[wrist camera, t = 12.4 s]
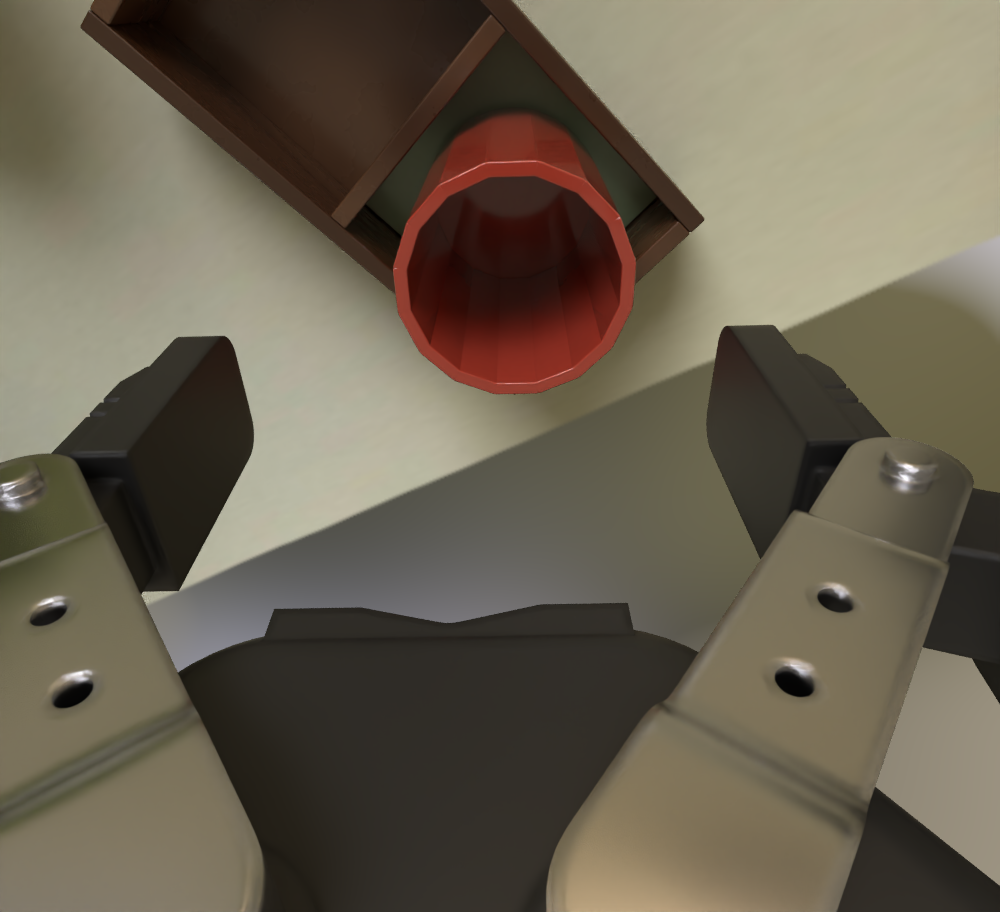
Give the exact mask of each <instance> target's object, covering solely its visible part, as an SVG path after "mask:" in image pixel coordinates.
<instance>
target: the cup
mask: <svg viewBox="0 0 1000 912" xmlns="http://www.w3.org/2000/svg"><path fill="white" fill-rule="evenodd" d="M635 273H636V259H635V256H634V253H633V250H632V248H631V245H630V242H629V239H628V236H627V233H626V230H625V227H624V225H623V222H622V219H621V217H620V214H619V212H618V210H617V208H616V206H615V204H614V202H613V200H612V198H611V196H610V194H609V192H608V190H607V188H606V186H605V184H604V182H603V180H602V177H601V175H600V173H599V171H598V169H597V167H596V165H595V163H594V161H593V159H592V157H591V155H590V153H589V151H588V149H587V148H586V147H585V146H584V145H583V144H582V142H581V141H580V140H579V138H578V137H577V136H576V135H575V133H573V132H572V131H571V130H570V129H569V128H568V127H567V126H566V125H565V124H563V123H562V122H560V121H559V120H558V119H556V118H554V117H552V116H550V115H548V114H546V113H544V112H541V111H538V110H535V109H530V108H524V107H505V108H498V109H494V110H490V111H487V112H484V113H482V114H479V115H477V116H475V117H474V118H472V119H470V120H469V121H467V122H466V123H464V124H463V125H462V126H461V127H459V128H458V129H457V130H456V131H455V132H454V133H453V134H452V135H451V136H450V137H449V139H448V140H447V142H446V143H445V144H444V146H443V147H442V148H441V150H440V151H439V152H438V153H437V155H436V157H435V160H434V162H433V164H432V166H431V169H430V171H429V173H428V175H427V178H426V180H425V182H424V184H423V187H422V189H421V191H420V193H419V196H418V198H417V200H416V202H415V205H414V207H413V209H412V211H411V214H410V216H409V218H408V220H407V223H406V225H405V229H404V232H403V235H402V239H401V242H400V245H399V249H398V252H397V255H396V258H395V262H394V265H393V275H394V283H395V292H396V301H397V309H398V313H399V316H400V318H401V320H402V322H403V323H404V325H405V327H406V329H407V331H408V332H409V334H410V336H411V338H412V339H413V341H414V343H415V345H416V347H417V348H418V350H419V352H420V353H421V354H422V355H423V356H425V357H426V358H427V359H428V360H430V361H431V362H432V363H433V364H434V365H436V366H437V367H438V368H439V369H441V370H442V371H443V372H444V373H445V374H447V375H448V376H449V377H450V378H452V379H453V380H455V381H457V382H460V383H463V384H466V385H469V386H472V387H475V388H478V389H481V390H484V391H487V392H490V393H493V394H531V393H540V392H543V391H546V390H548V389H551V388H553V387H556V386H559V385H561V384H564V383H566V382H569V381H571V380H574V379H577V378H578V377H580V376H581V375H583V374H584V373H585V372H586V371H587V370H588V369H589V368H590V367H592V366H593V365H594V364H595V363H596V362H597V361H598V360H599V359H601V358H602V357H603V356H604V355H605V354H606V353H607V352H608V351H610V350H611V348H612V347H613V346H614V344H615V342H616V340H617V338H618V336H619V334H620V332H621V330H622V328H623V326H624V324H625V322H626V320H627V318H628V316H629V314H630V312H631V310H632V307H633V299H634V286H635Z"/></svg>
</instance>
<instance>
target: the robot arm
mask: <svg viewBox="0 0 1000 912" xmlns="http://www.w3.org/2000/svg"><path fill="white" fill-rule="evenodd" d="M706 425H707V437H708V443H709V447H710V449H711V452H712V454H713V456H714V458H715V460H716V463H717V465H718V467H719V469H720V471H721V473H722V476H723V478H724V480H725V482H726V485H727V487H728V489H729V491H730V493H731V496H732V498H733V500H734V502H735V504H736V507H737V509H738V511H739V513H740V515H741V517H742V520H743V522H744V524H745V526H746V529H747V531H748V533H749V535H750V537H751V540H752V542H753V544H754V546H755V548H756V551H757V553H758V555H759V557H760V559H761V560H760V561H759V563H758V564H757V566H756V567H755V569H754V570H753V572H752V573H751V575H750V576H749V578H748V579H747V581H746V582H745V584H744V585H743V587H742V588H741V590H740V591H739V593H738V594H737V596H736V597H735V599H734V600H733V602H732V604H731V605H730V607H729V608H728V609H727V611H726V613H725V614H724V615H723V617H722V619H721V620H720V621H719V623H718V624H717V626H716V628H715V629H714V631H713V632H712V633H711V635H710V637H709V638H708V640H707V641H706V643H705V644H704V646H703V647H702V649H701V650H700V652H697V651H695V650H693V649H691V648H689V647H687V646H685V645H682V644H680V643H677V642H675V641H672V640H669V639H667V638H664V637H660V636H657V635H653V634H649V633H646V632H641V631H636V630H633V626H632V622H631V616H630V612H629V607H628V603H603V604H548V605H547V604H543V605H536V606H532V607H527V608H522V609H517V610H513V611H508V612H503V613H499V614H494V615H489V616H485V617H480V618H476V619H471V620H466V621H461V622H456V623H441V622H435V621H430V620H424V619H418V618H413V617H408V616H403V615H397V614H392V613H387V612H381V611H376V610H371V609H366V608H309V609H274V612H273V614H272V617H271V620H270V622H269V625H268V628H267V631H266V634H265V636H264V637H260V638H256V639H252V640H249V641H245V642H242V643H239V644H236V645H233V646H230V647H228V648H225V649H223V650H220V651H218V652H215V653H213V654H211V655H209V656H207V657H205V658H203V659H201V660H199V661H197V662H195V663H193V664H191V665H189V666H188V667H186V668H185V669H183V670H181V671H180V672H177V670H176V668H175V666H174V664H173V662H172V659H171V657H170V655H169V653H168V651H167V649H166V647H165V645H164V643H163V640H162V638H161V637H160V634H159V632H158V630H157V628H156V626H155V624H154V621H153V619H152V617H151V615H150V613H149V611H148V609H147V606H146V604H145V602H144V600H143V598H142V596H141V594H142V593H143V592H145V591H179V589H180V588H181V586H182V584H183V582H184V580H185V578H186V576H187V574H188V573H189V571H190V569H191V567H192V565H193V563H194V561H195V559H196V558H197V556H198V554H199V552H200V550H201V548H202V546H203V544H204V542H205V541H206V539H207V537H208V535H209V533H210V531H211V529H212V527H213V526H214V524H215V522H216V520H217V518H218V516H219V514H220V512H221V510H222V509H223V507H224V505H225V503H226V501H227V499H228V497H229V495H230V494H231V492H232V490H233V488H234V486H235V484H236V482H237V480H238V479H239V477H240V475H241V473H242V471H243V469H244V467H245V465H246V463H247V462H248V460H249V458H250V456H251V453H252V449H253V442H254V429H253V421H252V417H251V413H250V409H249V405H248V401H247V397H246V393H245V389H244V385H243V381H242V377H241V373H240V369H239V365H238V361H237V357H236V353H235V350H234V347H233V345H232V343H231V341H230V340H229V339H228V338H227V337H225V336H202V337H178V338H176V339H175V340H174V341H173V342H172V343H171V344H170V345H169V346H168V347H167V348H166V349H165V350H164V351H163V353H162V354H161V355H160V356H159V357H158V358H157V359H156V360H155V361H154V362H153V363H152V364H151V366H150V367H146V368H144V369H142V370H141V371H139V372H137V373H135V374H133V375H132V376H130V377H128V378H126V379H125V380H123V381H121V382H120V383H119V384H118V385H117V386H116V387H115V388H114V389H113V390H112V391H111V392H110V393H109V394H108V395H107V396H106V397H105V398H104V403H99V404H98V405H97V406H96V408H95V409H94V410H93V411H92V412H91V413H90V417H86V418H85V419H84V420H83V421H82V422H81V423H80V424H79V425H78V426H77V427H76V428H75V429H74V430H73V431H72V432H71V434H70V435H69V436H68V437H67V438H66V439H65V440H64V441H63V442H62V443H61V444H60V445H59V446H58V447H57V448H56V449H55V450H54V451H53V452H52V453H51V454H36V455H29V456H24V457H19V458H15V459H12V460H8V461H5V462H3V463H0V912H1000V886H999V885H998V884H997V883H995V882H994V881H993V880H991V879H990V878H989V877H988V876H987V875H985V874H984V873H983V872H982V871H980V870H979V869H978V868H977V867H975V866H974V865H973V864H972V863H970V862H969V861H968V860H966V859H965V858H964V857H963V856H961V855H960V854H959V853H958V852H957V851H955V850H954V849H953V848H951V847H950V846H949V845H948V844H946V843H945V842H944V841H943V840H941V839H940V838H939V837H938V836H936V835H935V834H934V833H933V832H931V831H930V830H929V829H927V828H926V827H925V826H924V825H923V824H921V823H920V822H918V820H916V819H915V818H914V817H913V816H911V815H910V814H909V813H908V812H906V811H905V810H904V809H902V808H901V807H900V806H899V805H897V804H896V803H895V802H894V801H892V800H891V799H890V798H889V797H887V796H886V795H885V794H883V793H882V792H881V791H880V790H879V789H877V788H876V787H875V785H876V782H877V779H878V777H879V774H880V770H881V767H882V765H883V762H884V759H885V756H886V753H887V750H888V747H889V744H890V741H891V738H892V735H893V732H894V729H895V726H896V723H897V721H898V718H899V715H900V712H901V709H902V706H903V703H904V700H905V697H906V694H907V691H908V688H909V685H910V682H911V679H912V676H913V673H914V670H915V668H916V665H917V661H918V659H919V656H920V653H921V650H922V647H924V648H928V649H933V650H937V651H942V652H946V653H951V654H955V655H959V656H964V657H969V658H972V659H973V661H974V663H975V665H976V666H977V668H978V670H979V671H980V673H981V674H982V676H983V678H984V679H985V681H986V683H987V684H988V686H989V687H990V689H991V691H992V692H993V694H994V695H995V697H996V699H997V700H998V702H999V703H1000V493H997V492H991V491H985V490H980V489H975V488H973V484H974V481H973V476H972V474H971V473H970V471H969V470H968V469H967V467H966V466H965V465H964V464H962V463H961V462H960V461H959V460H958V459H956V458H954V457H953V456H951V455H950V454H948V453H946V452H944V451H942V450H940V449H938V448H935V447H932V446H930V445H927V444H924V443H920V442H917V441H913V440H908V439H902V438H892V437H891V436H890V435H889V433H888V432H887V431H886V430H885V429H884V428H883V427H882V425H881V424H880V423H879V422H878V421H877V420H876V419H875V418H874V416H873V415H872V414H871V413H870V412H869V410H867V408H866V407H865V406H864V405H863V404H862V403H858V398H857V397H856V396H855V394H854V393H853V392H852V391H851V390H850V389H849V388H846V384H845V383H844V382H843V381H842V379H841V378H840V377H839V376H838V375H837V374H836V373H835V371H834V370H833V369H832V368H830V367H829V366H827V365H825V364H823V363H822V362H820V361H818V360H816V359H814V358H813V357H811V356H809V355H807V354H797V353H796V352H795V350H794V349H793V348H792V347H791V345H790V344H789V343H788V342H787V340H786V339H785V338H784V337H783V336H782V334H781V333H780V332H779V331H778V329H777V328H776V327H775V326H773V325H746V326H725V327H724V328H723V330H722V332H721V334H720V337H719V341H718V347H717V353H716V359H715V366H714V372H713V378H712V385H711V391H710V397H709V403H708V410H707V423H706Z"/></svg>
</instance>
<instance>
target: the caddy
mask: <svg viewBox="0 0 1000 912" xmlns="http://www.w3.org/2000/svg"><path fill="white" fill-rule="evenodd" d="M90 9H91V10H89V11H88V13H87V15H86V17H85V18H84V20H83V22H82V24H81V29H82V30H83V31H85V32H86V33H87V34H88V35H89V36H90V37H92V38H93V39H94V40H95V41H96V42H98V43H99V44H100V45H101V46H102V47H103V48H105V49H106V50H107V51H108V52H109V53H111V54H112V55H113V56H114V57H115V58H116V59H118V60H119V61H120V62H121V63H122V64H124V65H125V66H126V67H127V68H128V69H129V70H131V71H132V72H133V73H134V74H135V75H137V76H138V77H139V78H140V79H141V80H142V81H144V82H145V83H146V84H147V85H148V86H150V87H151V88H152V89H153V90H154V91H155V92H157V93H158V94H159V95H160V96H161V97H163V98H164V99H165V100H166V101H167V102H169V103H170V104H171V105H172V106H173V107H174V108H176V109H177V110H178V111H179V112H180V113H182V114H183V115H184V116H185V117H186V118H187V119H189V120H190V121H191V122H192V123H193V124H195V125H196V126H197V127H198V128H199V129H200V130H202V131H203V132H204V133H205V134H206V135H208V136H209V137H210V138H211V139H212V140H213V141H215V142H216V143H217V144H218V145H219V146H221V147H222V148H223V149H224V150H225V151H226V152H228V153H229V154H230V155H231V156H232V157H234V158H235V159H236V160H237V161H238V162H239V163H241V164H242V165H243V166H244V167H245V168H247V169H248V170H249V171H250V172H251V173H252V174H254V175H255V176H256V177H257V178H258V179H260V180H261V181H262V182H263V183H264V184H265V185H267V186H268V187H269V188H270V189H271V190H273V191H274V192H275V193H276V194H277V195H278V196H280V197H281V198H282V199H283V200H284V201H286V202H287V203H288V204H289V205H290V206H291V207H293V208H294V209H295V210H296V211H297V212H299V213H300V214H301V215H302V216H303V217H304V218H306V219H307V220H308V221H309V222H310V223H312V224H313V225H314V226H315V227H316V228H317V229H319V230H320V231H321V232H322V233H323V234H325V235H326V236H327V237H328V238H329V239H331V240H332V241H333V242H334V243H335V244H336V245H338V246H339V247H340V248H341V249H342V250H344V251H345V252H346V253H347V254H348V255H349V256H351V257H352V258H353V259H354V260H355V261H357V262H358V263H359V264H360V265H361V266H362V267H364V268H365V269H366V270H367V271H368V272H370V273H371V274H372V275H373V276H374V277H375V278H377V279H378V280H379V281H380V282H381V283H383V284H384V285H385V286H386V287H387V288H388V289H390V290H391V291H392V292H393V293H394V294H396V292H395V283H394V275H393V265H394V262H395V258H396V255H397V252H398V249H399V245H400V242H401V239H402V235H403V232H404V229H405V225H406V223H407V220H408V218H409V216H410V214H411V211H412V209H413V207H414V205H415V202H416V200H417V198H418V196H419V193H420V191H421V189H422V187H423V184H424V182H425V180H426V178H427V175H428V173H429V171H430V169H431V166H432V164H433V162H434V160H435V157H436V155H437V153H438V152H439V151H440V150H441V148H442V147H443V146H444V144H445V143H446V142H447V140H448V139H449V137H450V136H451V135H452V134H453V133H454V132H455V131H456V130H457V129H458V128H459V127H461V126H462V125H463V124H464V123H466V122H467V121H469V120H470V119H472V118H474V117H475V116H477V115H479V114H482V113H484V112H487V111H490V110H494V109H498V108H505V107H524V108H530V109H535V110H538V111H541V112H544V113H546V114H548V115H550V116H552V117H554V118H556V119H558V120H559V121H560V122H562V123H563V124H565V125H566V126H567V127H568V128H569V129H570V130H571V131H572V132H573V133H575V135H576V136H577V137H578V138H579V140H580V141H581V142H582V144H583V145H584V146H585V147H586V148H587V149H588V151H589V153H590V155H591V157H592V159H593V161H594V163H595V165H596V167H597V169H598V171H599V173H600V175H601V177H602V180H603V182H604V184H605V186H606V188H607V190H608V192H609V194H610V196H611V198H612V200H613V202H614V204H615V206H616V208H617V210H618V212H619V214H620V217H621V219H622V222H623V225H624V227H625V230H626V233H627V236H628V239H629V242H630V245H631V248H632V250H633V253H634V256H635V259H636V273H635V284H636V283H637V282H638V281H639V280H640V279H641V278H642V277H643V276H644V275H646V274H647V273H648V272H649V271H650V270H651V269H652V268H653V267H654V266H655V265H656V264H658V263H659V262H660V261H661V260H662V259H663V258H664V257H665V256H666V255H667V254H668V253H669V252H671V251H672V250H673V249H674V248H675V247H676V246H677V245H678V244H679V243H680V242H681V241H683V240H684V239H685V238H686V237H687V236H688V235H689V232H692V231H693V230H694V229H696V228H697V227H698V226H699V225H700V224H701V223H702V222H703V221H704V217H703V216H702V215H701V214H700V213H699V211H698V210H697V209H696V208H695V207H694V205H693V204H692V203H691V202H690V201H689V200H688V198H687V197H686V196H685V195H684V194H683V192H682V191H681V190H680V189H679V188H678V187H677V186H676V184H675V183H674V182H673V181H672V180H671V179H670V178H669V177H668V175H667V174H666V173H665V172H664V171H663V170H662V169H661V167H660V166H659V165H658V164H657V163H656V162H655V161H654V160H653V158H652V157H651V156H650V155H649V154H648V153H647V152H646V150H645V149H644V148H643V147H642V146H641V145H640V144H639V143H638V141H637V140H636V139H635V138H634V137H633V136H632V135H631V134H630V132H629V131H628V130H627V129H626V128H625V127H624V126H623V124H622V123H621V122H620V121H619V120H618V119H617V118H616V117H615V115H614V114H613V113H612V112H611V111H610V110H609V109H608V108H607V106H606V105H605V104H604V103H603V102H602V101H601V100H600V98H599V97H598V96H597V95H596V94H595V93H594V92H593V91H592V89H591V88H590V87H589V86H588V85H587V84H586V83H585V82H584V80H583V79H582V78H581V77H580V76H579V75H578V74H577V72H576V71H575V70H574V69H573V68H572V67H571V66H570V65H569V63H568V62H567V61H566V60H565V59H564V58H563V57H562V55H561V54H560V53H559V52H558V51H557V50H556V49H555V48H554V46H553V45H552V44H551V43H550V42H549V41H548V40H547V39H546V37H545V36H544V35H543V34H542V33H541V32H540V31H539V29H538V28H537V27H536V26H535V25H534V24H533V23H532V22H531V20H530V19H529V18H528V17H527V16H526V15H525V14H524V13H523V11H522V10H521V9H520V8H519V7H518V6H517V5H516V3H515V2H514V1H513V0H94V1H93V3H92V5H91V8H90ZM514 395H515V394H514Z"/></svg>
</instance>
